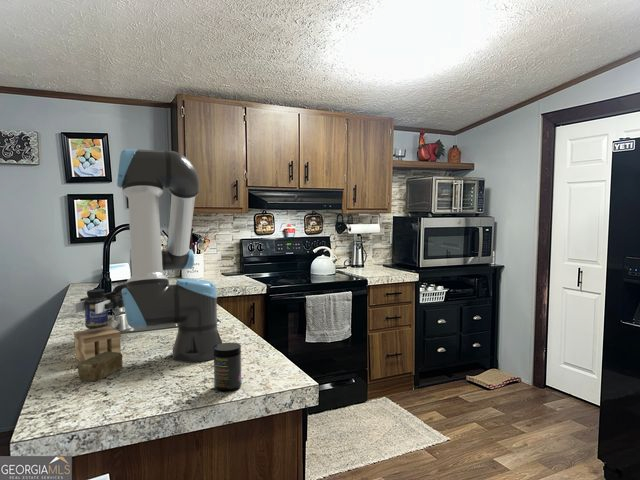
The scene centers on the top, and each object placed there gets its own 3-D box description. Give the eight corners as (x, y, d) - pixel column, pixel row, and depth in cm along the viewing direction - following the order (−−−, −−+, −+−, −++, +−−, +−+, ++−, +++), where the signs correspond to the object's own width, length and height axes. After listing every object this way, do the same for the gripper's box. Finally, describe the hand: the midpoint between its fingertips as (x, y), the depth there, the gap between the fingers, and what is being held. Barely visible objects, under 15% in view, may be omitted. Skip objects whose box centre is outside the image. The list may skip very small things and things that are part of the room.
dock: (121, 357, 132) (120, 331, 131) (85, 366, 125) (84, 338, 124) (109, 350, 139) (108, 326, 138) (74, 358, 132) (73, 332, 131)
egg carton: (115, 328, 168) (115, 318, 167) (94, 330, 166) (94, 319, 166) (121, 322, 178) (121, 312, 178) (101, 323, 176) (101, 313, 176)
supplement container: (240, 392, 105) (239, 350, 105) (212, 393, 105) (211, 351, 104) (242, 381, 112) (242, 342, 111) (216, 383, 111) (215, 342, 111)
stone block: (76, 381, 114) (75, 362, 113) (107, 366, 125) (106, 349, 125) (95, 383, 112) (95, 364, 112) (124, 368, 124) (124, 350, 123)
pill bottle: (89, 330, 127) (87, 293, 126) (82, 326, 131) (81, 290, 131) (111, 326, 132) (110, 290, 131) (104, 322, 136) (102, 287, 135)
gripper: (154, 305, 148) (117, 322, 125) (101, 304, 150) (55, 321, 127) (154, 283, 148) (116, 296, 125) (101, 282, 150) (53, 295, 127)
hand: (85, 308), depth 126 cm, fingers closed on pill bottle, 6 cm apart
